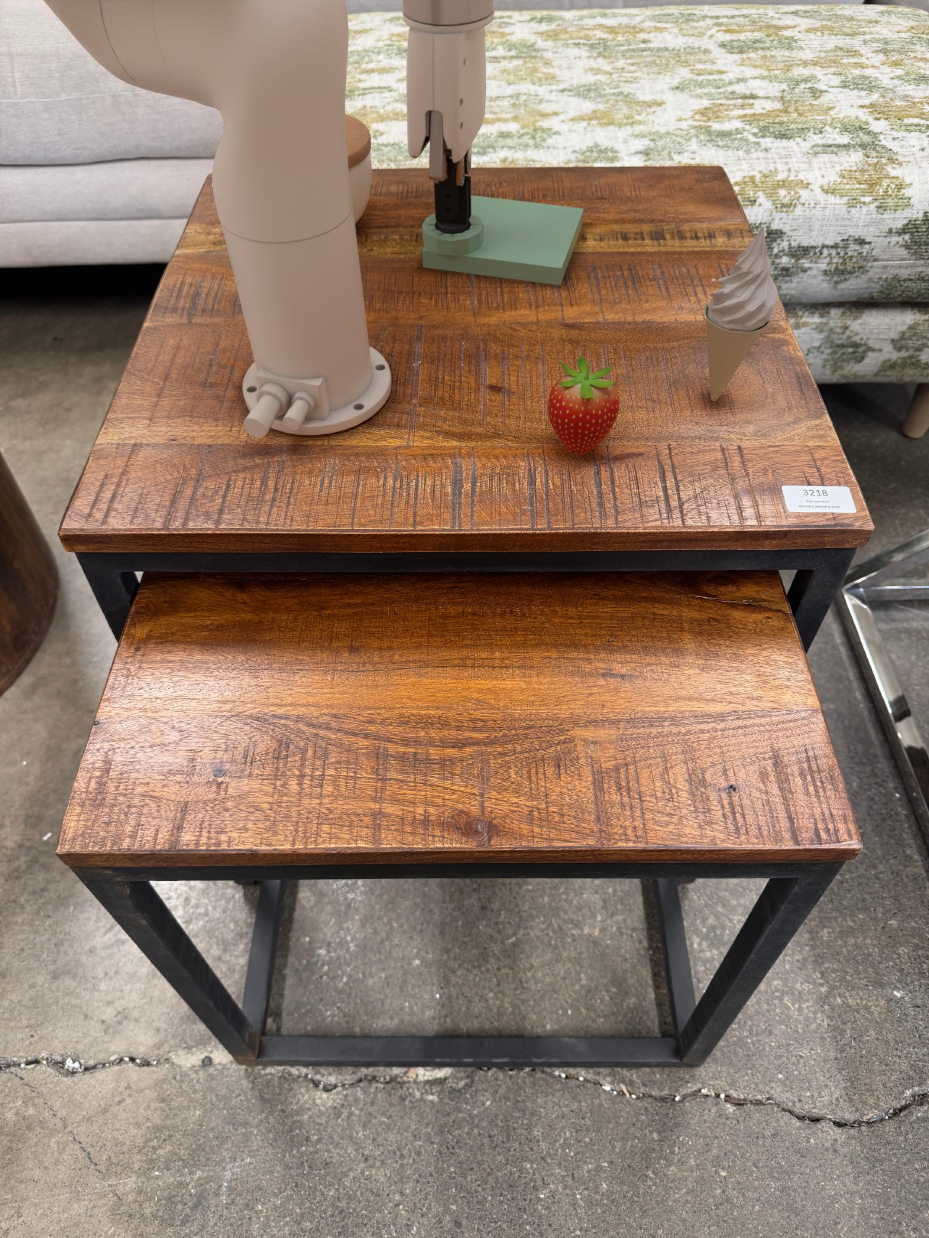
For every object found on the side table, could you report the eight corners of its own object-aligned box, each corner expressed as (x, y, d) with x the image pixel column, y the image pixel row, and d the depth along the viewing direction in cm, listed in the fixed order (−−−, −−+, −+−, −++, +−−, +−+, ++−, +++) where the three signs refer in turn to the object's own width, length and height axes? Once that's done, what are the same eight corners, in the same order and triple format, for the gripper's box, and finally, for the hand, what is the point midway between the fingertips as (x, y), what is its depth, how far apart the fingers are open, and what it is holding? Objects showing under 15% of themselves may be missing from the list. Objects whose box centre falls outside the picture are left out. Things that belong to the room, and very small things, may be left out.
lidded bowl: (271, 199, 94) (250, 88, 85) (384, 199, 93) (374, 89, 85) (249, 258, 86) (223, 144, 77) (372, 259, 86) (360, 144, 77)
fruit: (543, 469, 66) (550, 384, 60) (544, 426, 69) (551, 341, 63) (613, 472, 66) (627, 387, 60) (610, 428, 69) (623, 343, 63)
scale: (559, 288, 82) (562, 254, 79) (417, 269, 84) (415, 235, 82) (582, 226, 89) (585, 192, 87) (450, 210, 92) (450, 177, 89)
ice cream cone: (734, 425, 69) (787, 250, 57) (675, 407, 71) (715, 232, 59) (752, 391, 72) (807, 217, 60) (695, 374, 73) (737, 201, 62)
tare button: (463, 245, 83) (463, 229, 81) (434, 241, 83) (433, 226, 82) (471, 230, 84) (471, 214, 83) (442, 226, 85) (442, 211, 84)
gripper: (429, -36, 73) (438, 181, 88) (374, 25, 64) (393, 254, 79) (514, -30, 72) (508, 189, 86) (468, 33, 63) (470, 264, 78)
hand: (453, 219), depth 83 cm, fingers closed
